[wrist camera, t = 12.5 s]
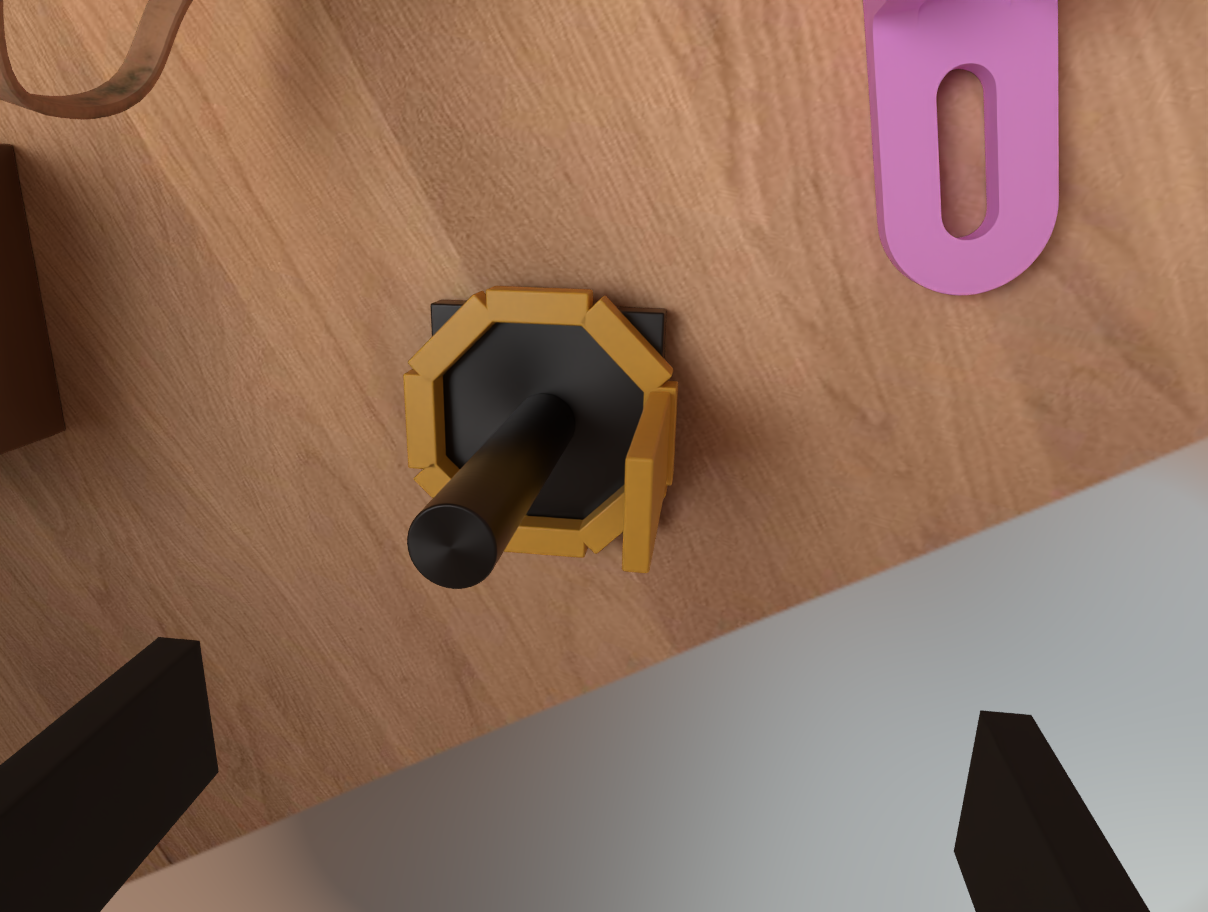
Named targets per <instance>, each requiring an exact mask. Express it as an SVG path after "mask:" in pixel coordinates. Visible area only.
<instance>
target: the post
mask: <svg viewBox="0 0 1208 912" xmlns="http://www.w3.org/2000/svg"><path fill="white" fill-rule="evenodd" d="M465 302H466V301H461V300H439V301H437V302H434V303H432V304H431V324H432V336H433V335H434V334H435V333H436V332H437V331H438V330H439V329H440V328H441V327H442V326H443V325H444V324H445V323H446V322H447V321H448V320H449V319H450V318H451V317H452V316H453V315H454V314H455V313H456V312H457V311H458V310H459V309H460V308H461V307H462V305H463V304H464V303H465ZM617 309H618V310H619V311H620V312H621V313H622V314H623V315H624V316H625V317H626V318H627V319H628V320H629V322H630V323H631V324H632V325H633V326H634V327H635V328H636V329H637V330H638V331H639V332H640V333H641V334H642V336H643V337H644V338H645V339H646V340H647V341H648V342H649V343H650V344H651V345H652V346H653V347H654V349H655V350H656V351H657V352H658V353H659V354H660V355H661V356H662V357H663V358H665V336H666V313H667V311H666V309H660V308H635V307H617ZM443 395H444V421H445V446H446V456H447V457H448V458H449V459H450V460H451V461H452V462H453V463H454V464H455V465H456V466H457V467H458V468H459V469H460V470H459V471H458V472H457V473H456V474H455V475H454V476H453V478H452V479H451V480H450V481H449V482H448V483H447V484H446V485H445V486H444V487H443V488H442V489H441V490H440V491H439V493H438V494H437V495H436V496H435V497H434V498H433V499H432V500H431V501H430V502H429V503H428V504H427V505H426V506H425V508H424V509H423V510H422V511H421V512H420V513H419V514H418V515H417V516H416V517H415V519H414V520H413V522H412V523H411V525H410V528H409V531H408V537H407V545H408V551H409V555H410V557H411V560H412V562H413V564H414V565H415V567H416V568H417V570H418V571H419V572H420V573H421V574H422V575H423V576H424V577H425V578H427V579H428V580H430V581H431V582H433V583H435V584H437V585H439V586H442V587H446V588H452V589H462V588H468V587H472V586H474V585H476V584H478V583H480V582H482V581H483V580H484V579H485V578H486V577H487V576H488V575H489V574H490V573H491V571H492V570H493V568H494V567H495V565H496V563H497V562H498V560H499V558H500V557H501V555H502V553H503V552H504V550H505V548H506V547H507V545H508V543H509V542H510V540H511V538H512V537H513V535H514V533H515V532H516V530H517V528H518V527H519V525H520V523H521V522H522V520H523V518H524V517H525V516H537V517H551V518H565V519H579V520H584V519H585V518H586V517H587V516H588V515H589V514H591V513H592V512H593V511H594V510H595V509H596V508H598V507H599V506H600V505H601V504H602V503H603V502H605V501H606V500H607V499H608V498H609V497H610V496H612V495H613V494H614V493H615V492H616V491H617V490H619V489H620V488H621V487H622V486H623V485H625V459H626V456H627V453H628V451H629V448H630V445H631V442H632V440H633V437H634V434H635V431H636V428H637V426H638V423H639V420H640V417H641V414H642V412H643V401H644V392H643V391H642V390H641V389H640V388H639V387H638V386H637V385H636V384H635V383H634V381H633V380H632V379H631V378H630V377H629V376H628V375H627V374H626V373H625V372H624V371H623V370H622V369H621V368H620V366H619V365H618V364H617V363H616V362H615V361H614V360H613V359H612V358H611V357H610V356H609V355H608V354H607V353H606V351H605V350H604V349H603V348H602V347H601V346H600V345H599V344H598V343H597V342H596V341H595V340H594V339H593V338H592V337H591V335H590V334H589V333H588V332H587V331H586V330H585V329H584V328H583V327H582V326H570V325H547V324H524V323H501V322H496V323H495V324H494V325H493V326H492V327H491V328H490V329H489V330H488V331H487V332H486V333H485V334H484V335H483V336H482V337H481V338H480V339H479V340H478V341H477V342H476V343H475V344H474V345H473V346H472V347H471V348H470V349H469V350H468V351H467V352H466V353H465V354H464V355H463V356H462V357H461V358H460V359H459V360H458V361H457V362H456V363H455V364H454V365H453V366H452V367H451V368H450V369H449V370H448V371H447V372H446V373H445V374H444V375H443ZM621 534H623V532H622V533H621Z"/></svg>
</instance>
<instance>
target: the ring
mask: <svg viewBox="0 0 1208 912" xmlns="http://www.w3.org/2000/svg"><path fill="white" fill-rule="evenodd" d="M496 322H501V323H524V324H547V325H570V326H582V327H583V328H584V329H585V330H586V331H587V332H588V333H589V334H590V335H591V337H592V338H593V339H594V340H595V341H596V342H597V343H598V344H599V345H600V346H601V347H602V348H603V349H604V350H605V351H606V353H607V354H608V355H609V356H610V357H611V358H612V359H613V360H614V361H615V362H616V363H617V364H618V365H619V366H620V368H621V369H622V370H623V371H624V372H625V373H626V374H627V375H628V376H629V377H630V378H631V379H632V380H633V381H634V383H635V384H636V385H637V386H638V387H639V388H640V389H641V390H642V391H643V392H644V401H643V412H642V414H641V417H640V420H639V423H638V426H637V428H636V431H635V434H634V437H633V440H632V442H631V445H630V448H629V451H628V453H627V456H626V459H625V485H623V486H622V487H621V488H620V489H619V490H617V491H616V492H615V493H614V494H613V495H612V496H610V497H609V498H608V499H607V500H606V501H605V502H603V503H602V504H601V505H600V506H599V507H598V508H596V509H595V510H594V511H593V512H592V513H591V514H589V515H588V516H587V517H586V518H585V519H584V520H579V519H565V518H551V517H537V516H525V517H524V518H523V520H522V522H521V523H520V525H519V527H518V528H517V530H516V532H515V533H514V535H513V537H512V538H511V540H510V542H509V543H508V545H507V547H506V548H505V550H504V552H516V553H529V554H541V555H554V556H567V557H580V558H583V557H584V556H585V554H586V551H587V549H588V547H589V548H590V549H591V550H592V551H593V552H594V553H595V554H597V553H598V552H600V551H601V550H602V549H603V548H604V547H606V546H607V545H608V544H609V543H610V542H612V541H613V540H614V539H615V538H616V537H618V536H619V535H620V534H621V533H622V532H623V551H622V569H623V571H626V572H638V573H648V572H649V570H650V565H651V560H652V555H653V549H654V544H655V539H656V534H657V528H658V523H659V518H660V513H661V508H662V502H663V498H665V496H666V492H667V487H668V486H667V485H672V481H673V475H674V457H675V437H676V417H677V397H678V382H677V381H667V380H668V379H669V378H671V376H672V373H673V368H672V367H671V366H670V365H669V364H668V363H667V362H666V360H665V359H664V358H663V357H662V356H661V355H660V354H659V353H658V352H657V351H656V350H655V349H654V347H653V346H652V345H651V344H650V343H649V342H648V341H647V340H646V339H645V338H644V337H643V336H642V334H641V333H640V332H639V331H638V330H637V329H636V328H635V327H634V326H633V325H632V324H631V323H630V322H629V320H628V319H627V318H626V317H625V316H624V315H623V314H622V313H621V312H620V311H619V310H618V309H617V307H616V306H615V305H614V304H613V303H612V302H611V301H610V300H609V299H608V298H607V297H606V296H603V297H602V298H601V299H600V300H599V301H598V302H597V303H596V304H595V305H594V306H593V290H591V289H565V288H538V287H512V286H494V287H492V288H489V289H487V290H486V294H485V293H484V292H483V291H481V292H478V293H476V294H474V295H472V296H471V297H470V298H469V299H468V300H467V301H466V302H465V303H464V304H463V305H462V307H461V308H460V309H459V310H458V311H457V312H456V313H455V314H454V315H453V316H452V317H451V318H450V319H449V320H448V321H447V322H446V323H445V324H444V325H443V326H442V327H441V328H440V329H439V330H438V331H437V332H436V333H435V334H434V335H433V336H432V337H431V338H430V339H429V341H428V342H427V343H426V344H425V345H424V346H423V347H422V348H421V349H420V350H419V351H418V352H417V353H416V354H415V355H414V356H413V357H412V358H411V359H410V360H409V361H408V364H409V365H410V366H411V367H412V368H413V369H412V370H410V371H408V372H407V373H405V374H404V375H403V377H404V396H405V414H406V432H407V451H408V467H409V468H417V469H423V470H422V471H421V472H420V473H419V474H418V475H417V476H415V477H414V480H415V481H416V482H417V483H418V484H419V485H420V486H421V487H422V488H423V489H424V490H425V491H426V492H427V493H428V494H429V495H430V496H431V497H432V498H434V497H435V496H436V495H437V494H438V493H439V491H440V490H441V489H442V488H443V487H444V486H445V485H446V484H447V483H448V482H449V481H450V480H451V479H452V478H453V476H454V475H455V474H456V473H457V472H458V471H459V470H460V469H459V468H458V467H457V466H456V465H455V464H454V463H453V462H452V461H451V460H450V459H449V458H448V457H447V456H446V446H445V421H444V395H443V375H444V374H445V373H446V372H447V371H448V370H449V369H450V368H451V367H452V366H453V365H454V364H455V363H456V362H457V361H458V360H459V359H460V358H461V357H462V356H463V355H464V354H465V353H466V352H467V351H468V350H469V349H470V348H471V347H472V346H473V345H474V344H475V343H476V342H477V341H478V340H479V339H480V338H481V337H482V336H483V335H484V334H485V333H486V332H487V331H488V330H489V329H490V328H491V327H492V326H493V325H494V324H495V323H496Z"/></svg>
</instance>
